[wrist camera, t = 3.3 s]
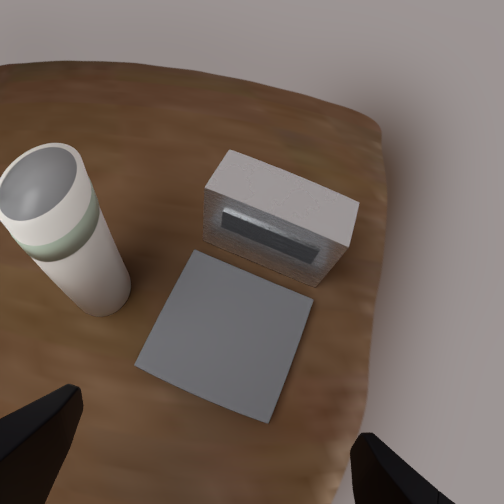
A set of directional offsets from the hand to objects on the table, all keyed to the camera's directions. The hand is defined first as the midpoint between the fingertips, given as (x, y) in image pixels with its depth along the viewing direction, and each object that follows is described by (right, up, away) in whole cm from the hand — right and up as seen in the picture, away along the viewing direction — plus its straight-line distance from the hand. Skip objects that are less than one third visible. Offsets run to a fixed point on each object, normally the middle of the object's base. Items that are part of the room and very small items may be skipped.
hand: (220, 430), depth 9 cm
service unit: (+2, +6, +19) cm, 20 cm away
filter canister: (-11, +3, +15) cm, 19 cm away
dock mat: (-1, -1, +15) cm, 15 cm away
